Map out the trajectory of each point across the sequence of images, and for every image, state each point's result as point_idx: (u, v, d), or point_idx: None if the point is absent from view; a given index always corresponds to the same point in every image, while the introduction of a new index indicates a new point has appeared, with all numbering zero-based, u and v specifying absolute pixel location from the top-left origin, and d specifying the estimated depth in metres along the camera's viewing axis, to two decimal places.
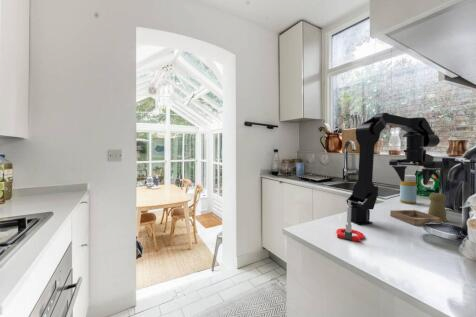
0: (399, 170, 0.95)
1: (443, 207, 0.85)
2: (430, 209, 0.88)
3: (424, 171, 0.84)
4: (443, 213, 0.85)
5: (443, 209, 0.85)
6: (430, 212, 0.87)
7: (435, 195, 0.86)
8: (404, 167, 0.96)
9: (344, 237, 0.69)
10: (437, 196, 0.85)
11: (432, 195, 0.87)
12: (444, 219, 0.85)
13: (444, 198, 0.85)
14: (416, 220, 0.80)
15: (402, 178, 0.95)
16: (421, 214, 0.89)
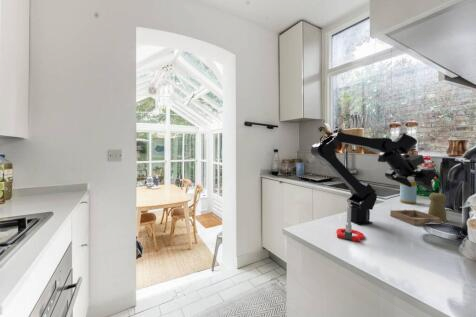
0: (400, 181, 0.91)
1: (443, 207, 0.85)
2: (430, 209, 0.88)
3: (421, 185, 0.80)
4: (443, 213, 0.85)
5: (443, 209, 0.85)
6: (430, 212, 0.87)
7: (435, 195, 0.86)
8: None
9: (344, 237, 0.69)
10: (437, 196, 0.85)
11: (432, 195, 0.87)
12: (444, 219, 0.85)
13: (444, 198, 0.85)
14: (416, 220, 0.80)
15: (408, 185, 0.91)
16: (421, 214, 0.89)
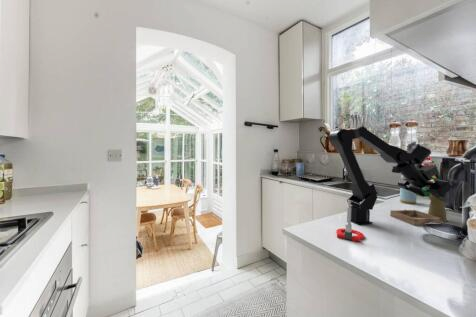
0: (413, 190, 0.91)
1: (443, 207, 0.85)
2: (430, 209, 0.88)
3: (436, 196, 0.81)
4: (443, 213, 0.85)
5: (443, 209, 0.85)
6: (430, 212, 0.87)
7: None
8: None
9: (344, 237, 0.69)
10: None
11: None
12: (444, 219, 0.85)
13: None
14: (416, 220, 0.80)
15: (421, 194, 0.91)
16: (421, 214, 0.89)
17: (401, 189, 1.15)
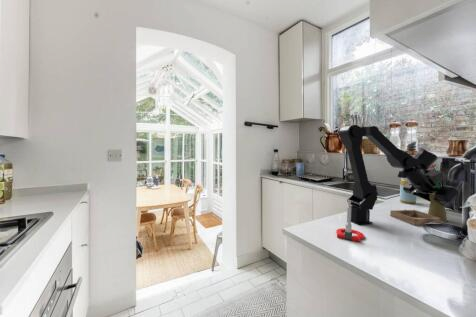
0: (422, 196, 0.90)
1: (443, 207, 0.85)
2: (430, 209, 0.88)
3: (437, 201, 0.83)
4: (443, 213, 0.85)
5: (443, 209, 0.85)
6: (430, 212, 0.87)
7: None
8: None
9: (344, 237, 0.69)
10: None
11: (432, 195, 0.87)
12: (444, 219, 0.85)
13: None
14: (416, 220, 0.80)
15: None
16: (421, 214, 0.89)
17: (401, 189, 1.15)
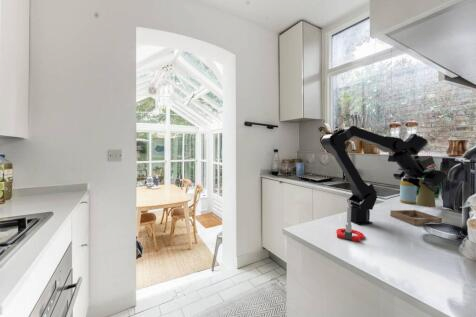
0: (412, 182, 0.89)
1: (432, 192, 0.84)
2: (419, 195, 0.87)
3: (426, 185, 0.82)
4: (432, 198, 0.84)
5: (432, 194, 0.84)
6: (419, 198, 0.87)
7: None
8: None
9: (344, 237, 0.69)
10: None
11: (422, 180, 0.86)
12: (433, 204, 0.84)
13: None
14: (416, 220, 0.80)
15: None
16: (421, 214, 0.89)
17: (401, 189, 1.15)
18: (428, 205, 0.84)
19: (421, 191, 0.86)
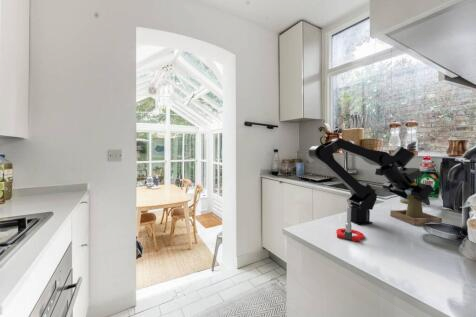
0: (397, 193, 0.91)
1: (420, 208, 0.84)
2: (408, 210, 0.87)
3: (418, 199, 0.80)
4: (420, 214, 0.84)
5: (420, 210, 0.84)
6: (408, 213, 0.87)
7: (412, 196, 0.85)
8: None
9: (344, 237, 0.69)
10: None
11: (410, 196, 0.86)
12: None
13: None
14: (416, 220, 0.80)
15: (405, 197, 0.91)
16: None
17: None
18: None
19: (409, 206, 0.86)
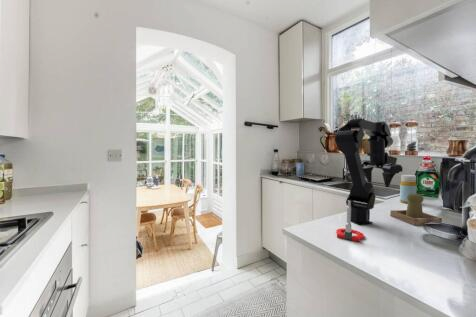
0: (365, 172, 0.98)
1: (420, 208, 0.84)
2: (408, 210, 0.87)
3: (384, 175, 0.87)
4: (420, 214, 0.84)
5: (420, 210, 0.84)
6: (408, 213, 0.87)
7: (412, 196, 0.85)
8: (371, 168, 0.99)
9: (344, 237, 0.69)
10: (414, 197, 0.84)
11: (409, 196, 0.86)
12: None
13: (421, 199, 0.84)
14: (416, 220, 0.80)
15: (369, 179, 0.98)
16: None
17: (401, 189, 1.15)
18: None
19: (409, 206, 0.86)
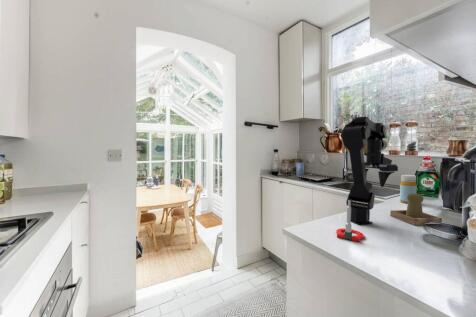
0: None
1: (420, 208, 0.84)
2: (408, 210, 0.87)
3: (380, 174, 0.89)
4: (420, 214, 0.84)
5: (420, 210, 0.84)
6: (408, 213, 0.87)
7: (412, 196, 0.85)
8: (366, 170, 1.01)
9: (344, 237, 0.69)
10: (414, 197, 0.84)
11: (409, 196, 0.86)
12: None
13: (421, 199, 0.84)
14: (416, 220, 0.80)
15: None
16: None
17: (401, 189, 1.15)
18: None
19: (409, 206, 0.86)
